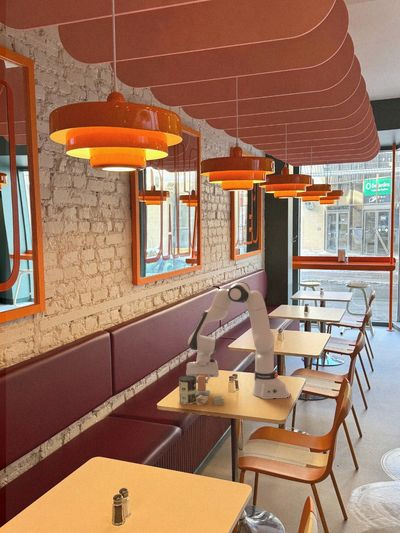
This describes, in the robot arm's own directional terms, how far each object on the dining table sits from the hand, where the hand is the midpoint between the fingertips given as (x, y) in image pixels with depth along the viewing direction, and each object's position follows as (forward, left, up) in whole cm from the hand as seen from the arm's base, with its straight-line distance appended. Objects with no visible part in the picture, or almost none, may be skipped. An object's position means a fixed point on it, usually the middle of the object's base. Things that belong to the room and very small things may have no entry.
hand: (201, 382), depth 301 cm
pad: (0, -1, -7) cm, 7 cm away
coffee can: (+7, +12, -8) cm, 16 cm away
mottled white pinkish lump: (-2, +15, -8) cm, 17 cm away
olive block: (-11, +14, -8) cm, 20 cm away
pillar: (0, -1, -5) cm, 5 cm away
